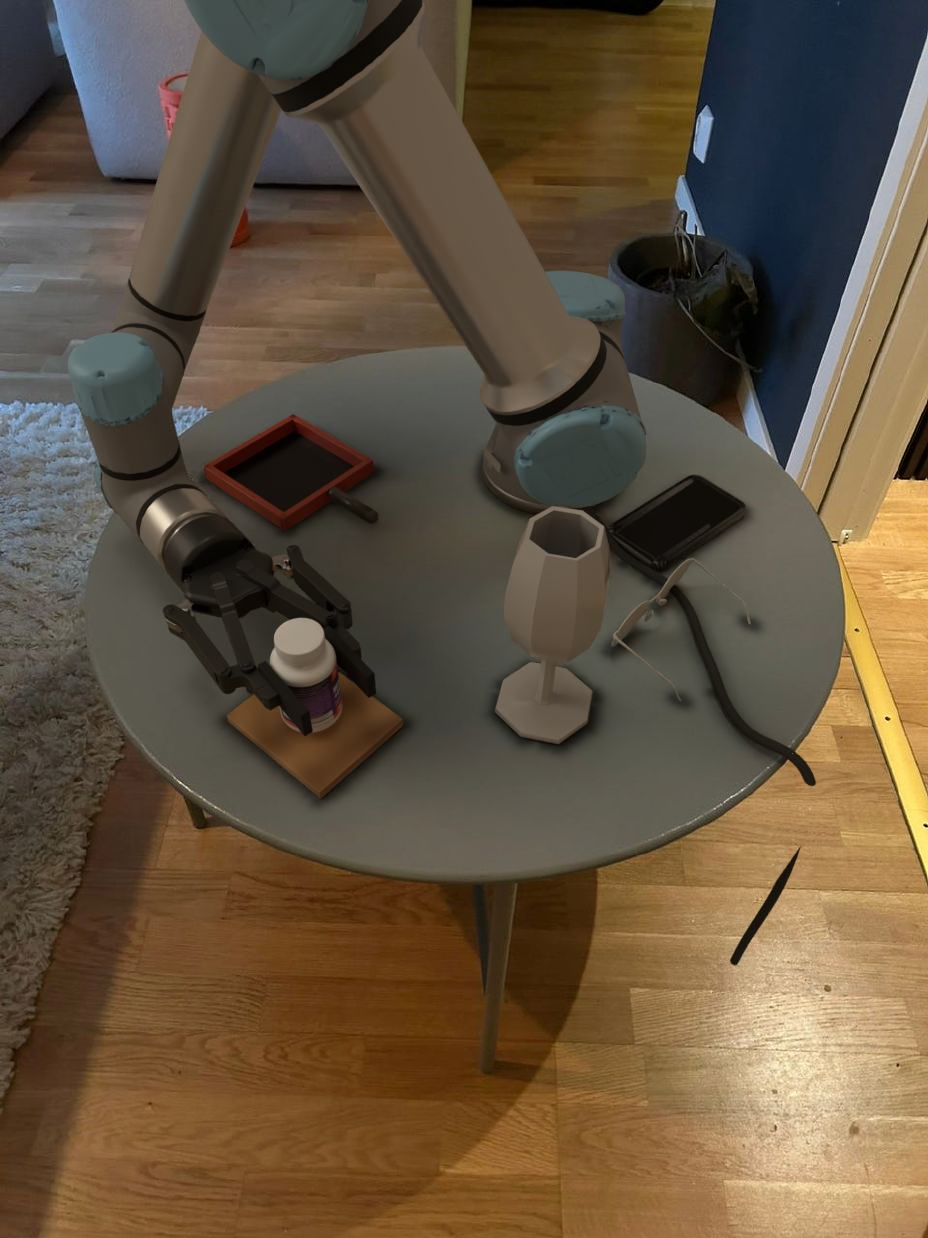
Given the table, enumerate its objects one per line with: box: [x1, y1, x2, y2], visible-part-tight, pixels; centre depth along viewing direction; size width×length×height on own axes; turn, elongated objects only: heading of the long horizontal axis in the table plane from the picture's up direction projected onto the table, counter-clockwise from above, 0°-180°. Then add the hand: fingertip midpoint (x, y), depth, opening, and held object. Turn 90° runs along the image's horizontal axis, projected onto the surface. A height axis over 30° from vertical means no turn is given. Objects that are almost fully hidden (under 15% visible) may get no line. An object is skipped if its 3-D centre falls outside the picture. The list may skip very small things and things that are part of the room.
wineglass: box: [494, 506, 611, 745], centre depth 74 cm, size 9×9×21 cm
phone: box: [607, 474, 746, 573], centre depth 98 cm, size 8×1×15 cm
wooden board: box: [226, 671, 404, 799], centre depth 80 cm, size 12×10×1 cm
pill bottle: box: [269, 618, 342, 733], centre depth 75 cm, size 5×5×10 cm
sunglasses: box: [611, 557, 752, 702], centre depth 86 cm, size 14×8×5 cm, turn 139°
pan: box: [202, 413, 380, 532], centre depth 102 cm, size 21×14×2 cm, turn 49°
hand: (339, 704), depth 72 cm, fingers closed on pill bottle, 5 cm apart
